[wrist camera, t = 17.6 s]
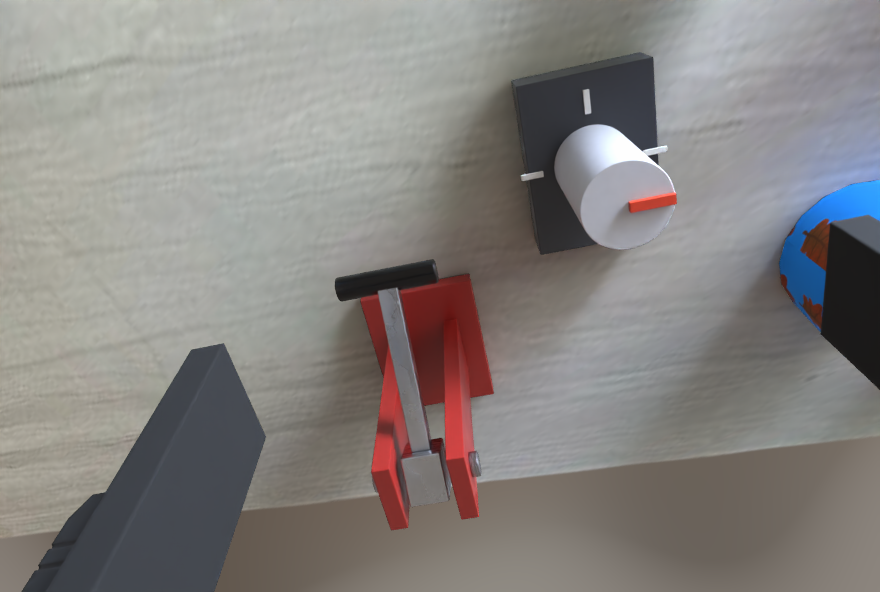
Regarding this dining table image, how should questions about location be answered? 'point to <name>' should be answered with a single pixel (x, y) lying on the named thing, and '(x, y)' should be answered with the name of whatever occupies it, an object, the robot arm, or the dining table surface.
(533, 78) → the dial panel
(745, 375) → the dining table surface
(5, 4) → the dining table surface
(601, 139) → the knob
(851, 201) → the thermos
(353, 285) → the lever
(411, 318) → the red lever stand
